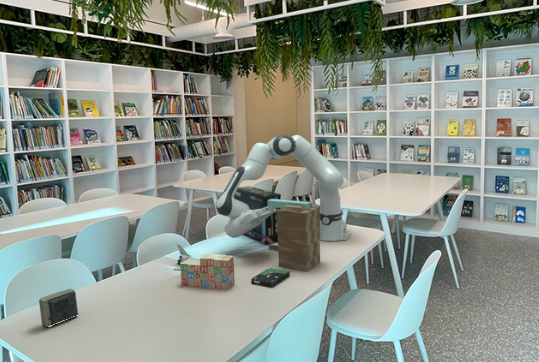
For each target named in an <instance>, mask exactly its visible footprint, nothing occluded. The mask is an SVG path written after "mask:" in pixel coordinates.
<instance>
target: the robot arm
mask: <svg viewBox="0 0 539 362" xmlns="http://www.w3.org/2000/svg"><path fill="white" fill-rule="evenodd" d="M289 155H291V156H293V157H294V158H295V159H296V161H298V162H299V163H300V164H301V165H302V166H303V167H304V168H305V169H306V170H307V171H308V172H309V173H310V174H311V175H312V176H313V177H315V179H316V180H317V187H318V194H319V195H318V196H319V207H320V209H319V216H320V241H323V242H324V241H325V242H337V241H347V240H348V239H349V238H350V236H351V234H352V231H350V230H348V226H347V223H346V222H345V221H344V220H343V216H344V211H341V197H340V191H339V189H340V188H341V187H342V186H343V184H344V176H343V173H341V171H340V170H339V169H337V168H336V167H335V166H334V164H333V163H331V162H330V161H329V160H328V159H327V158H325V156H324V155H322V154H321V152H319V150H318V149H317V148H315V146H313V145H312V144H311V143H310V142H309V141H308V140H307V139H306V138H304V137H303V136H301V135H299V134H295V135H293V136H288V135H278V136H276V137H273V138H271V140H269V141H268V142H267V143H264V142H257V143H254V145H253V146H252V147H251V150H250V151H249V153H248V156H247V157H246V160H245V162H244V164H243V165H242V166H239V167H238V168H237V169H236V170H235V171H234V173H233V175H232V176H231V177H230V180H229V182H228V183H227V185H226V186H225V188H224V190H223V191H222V193H221V195H219V197H218V199H217V200H216V203H215V209H216V212H217V214H218V215H221V216H224V217H227V218H229V219H228V222H227V224H225V225H224V232H225V234H226V235H227V236H228V237H231V238H233V239H234V238H235V239H236V238H238V237H241V236H242V235H243V234H245V233H246V232H247V231H249V230H252V229H253V228H255V227H257V226H258V225H259V224H260V223H261V222H263V221H265V219H266V218H267V217H269V216H270V215H271V214H273V213H274V212H275V211H276V209H275V207H268V206H267V207H265V208H262V209H257V210H250V208H249V206H248V205H247V204H245V203H243V202H241V201H239V200H236V199H234V198H235V192H236V191H237V189H238V187H240V185H241V183H242V182H244V181H256V180H260V179H261V178H262V177H263V176H264V174H265V173H266V170H267V167H268V164H269V162H270V160H280V159H282V158H285V157H286V156H289ZM243 236H244V235H243Z"/></svg>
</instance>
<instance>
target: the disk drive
mask: <svg viewBox="0 0 539 362" xmlns="http://www.w3.org/2000/svg"><path fill="white" fill-rule="evenodd" d="M290 275H291V271H289V270H284V269H276V268H272V267H270V268H267V269H265V270H264V271H262V272H260V273H259V274H257V275H255V276H253V277H252V278H250V283H251V284H250V285H255V286H260V287H264V288H265V287H266V288H270V289H274V288H275V287H277V285H279V284H280V283H282V282H283V281H285V280H287V279H288V278H290Z"/></svg>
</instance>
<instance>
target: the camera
mask: <svg viewBox="0 0 539 362" xmlns="http://www.w3.org/2000/svg"><path fill="white" fill-rule="evenodd" d="M38 304H39V311H40V319H41V325H42V326H43V325H44V326H46V327H48V326H50V325H53V324H56V323H58V322H61V321H63V320H66V319H69V318H71V317H73V316H76V315H78V316H79V312H78V303H77V295H76V291H75V289H72V288H67V289H63V290H60V291H57V292H55V293H52V294H48V295H46V296H44V297H40V298H39V300H38ZM44 326H43V327H44ZM46 327H45V328H46Z"/></svg>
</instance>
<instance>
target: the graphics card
mask: <svg viewBox="0 0 539 362" xmlns="http://www.w3.org/2000/svg"><path fill="white" fill-rule="evenodd" d="M268 250H269V251H271V250H272V251H276V252H278V242H277V243H274V244H268Z"/></svg>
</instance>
